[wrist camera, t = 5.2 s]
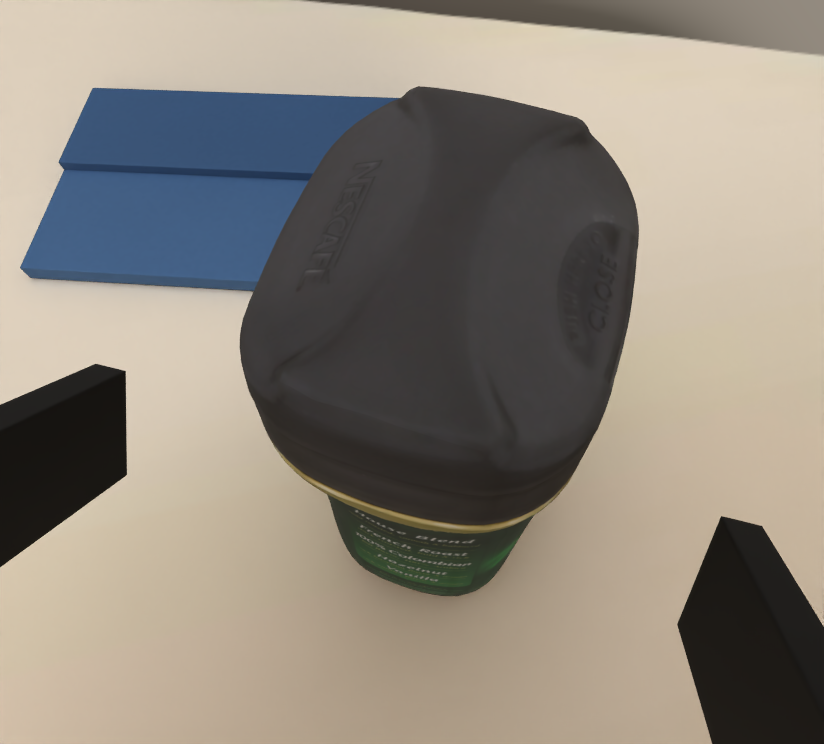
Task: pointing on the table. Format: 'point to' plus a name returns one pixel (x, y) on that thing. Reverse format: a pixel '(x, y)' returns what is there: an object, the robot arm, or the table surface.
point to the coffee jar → (444, 327)
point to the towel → (183, 184)
